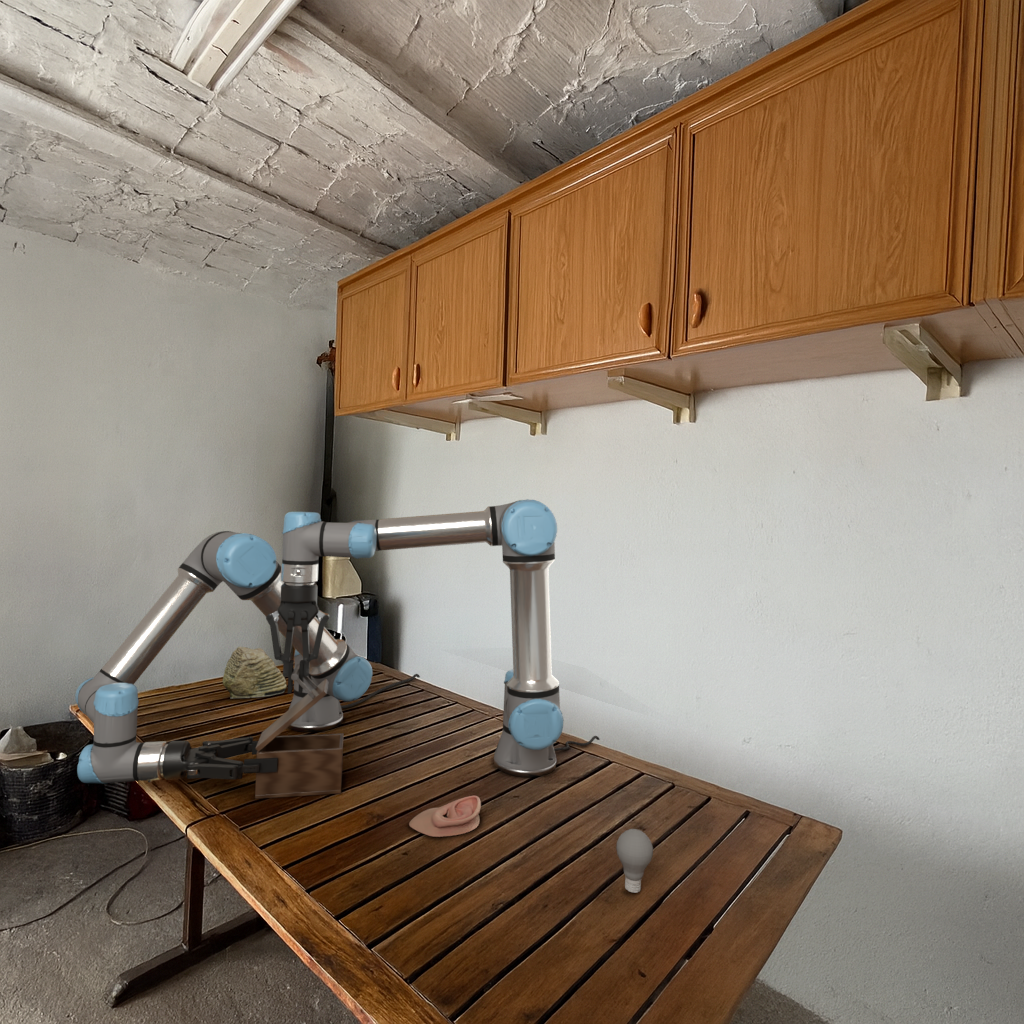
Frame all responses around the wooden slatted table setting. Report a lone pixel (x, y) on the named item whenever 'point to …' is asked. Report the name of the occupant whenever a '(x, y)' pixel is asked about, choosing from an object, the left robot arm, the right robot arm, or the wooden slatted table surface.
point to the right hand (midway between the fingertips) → (295, 691)
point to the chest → (302, 766)
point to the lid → (294, 709)
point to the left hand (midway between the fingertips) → (280, 755)
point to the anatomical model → (449, 818)
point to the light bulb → (634, 857)
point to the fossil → (252, 674)
